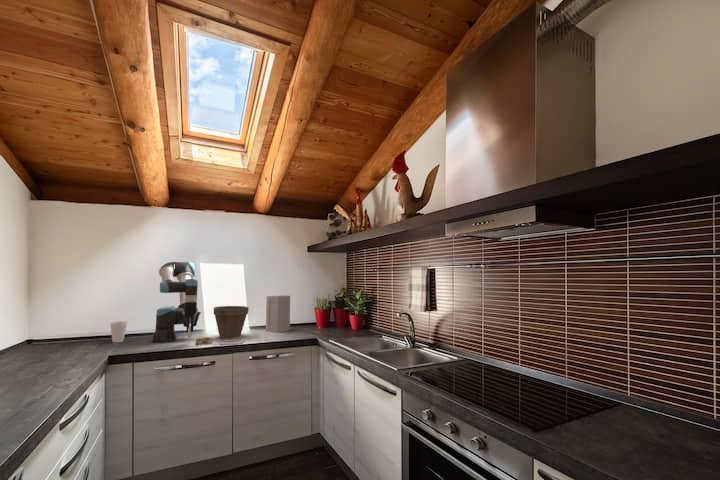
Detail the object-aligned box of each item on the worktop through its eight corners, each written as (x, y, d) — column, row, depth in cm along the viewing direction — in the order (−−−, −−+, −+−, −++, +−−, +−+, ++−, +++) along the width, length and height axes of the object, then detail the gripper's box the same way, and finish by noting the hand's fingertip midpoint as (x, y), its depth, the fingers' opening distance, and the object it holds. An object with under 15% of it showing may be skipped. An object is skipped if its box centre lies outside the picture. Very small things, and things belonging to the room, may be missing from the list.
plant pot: (254, 335, 279) (255, 306, 280) (231, 340, 256) (231, 309, 258) (230, 332, 289) (230, 305, 291) (205, 337, 267) (206, 307, 269)
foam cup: (127, 341, 253) (128, 322, 254) (111, 343, 247) (112, 323, 248) (123, 339, 260) (124, 321, 261) (108, 341, 253) (109, 322, 254)
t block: (195, 344, 242) (196, 338, 242) (199, 342, 250) (199, 336, 250) (210, 344, 243) (210, 338, 243) (213, 342, 251) (213, 336, 251)
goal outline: (219, 345, 241) (219, 343, 241) (224, 341, 254) (224, 340, 254) (241, 344, 243) (241, 343, 243) (244, 340, 256) (244, 339, 256)
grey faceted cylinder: (267, 333, 287) (267, 297, 290) (265, 330, 301) (266, 296, 304) (291, 331, 293) (292, 296, 296) (289, 329, 307) (289, 295, 310)
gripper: (178, 302, 243) (177, 338, 241) (199, 301, 244) (198, 337, 242) (182, 301, 250) (181, 336, 248) (202, 301, 252) (201, 336, 249)
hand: (189, 337), depth 245 cm, fingers closed
